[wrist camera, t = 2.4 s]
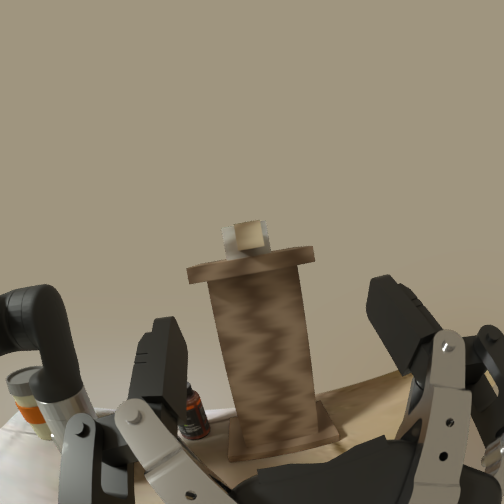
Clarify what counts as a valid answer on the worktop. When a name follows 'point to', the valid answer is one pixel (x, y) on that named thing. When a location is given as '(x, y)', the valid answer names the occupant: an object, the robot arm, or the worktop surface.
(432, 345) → the robot arm
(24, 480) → the worktop surface
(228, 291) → the stand
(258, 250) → the grey and beige bar
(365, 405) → the worktop surface
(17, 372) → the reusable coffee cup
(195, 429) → the supplement bottle
